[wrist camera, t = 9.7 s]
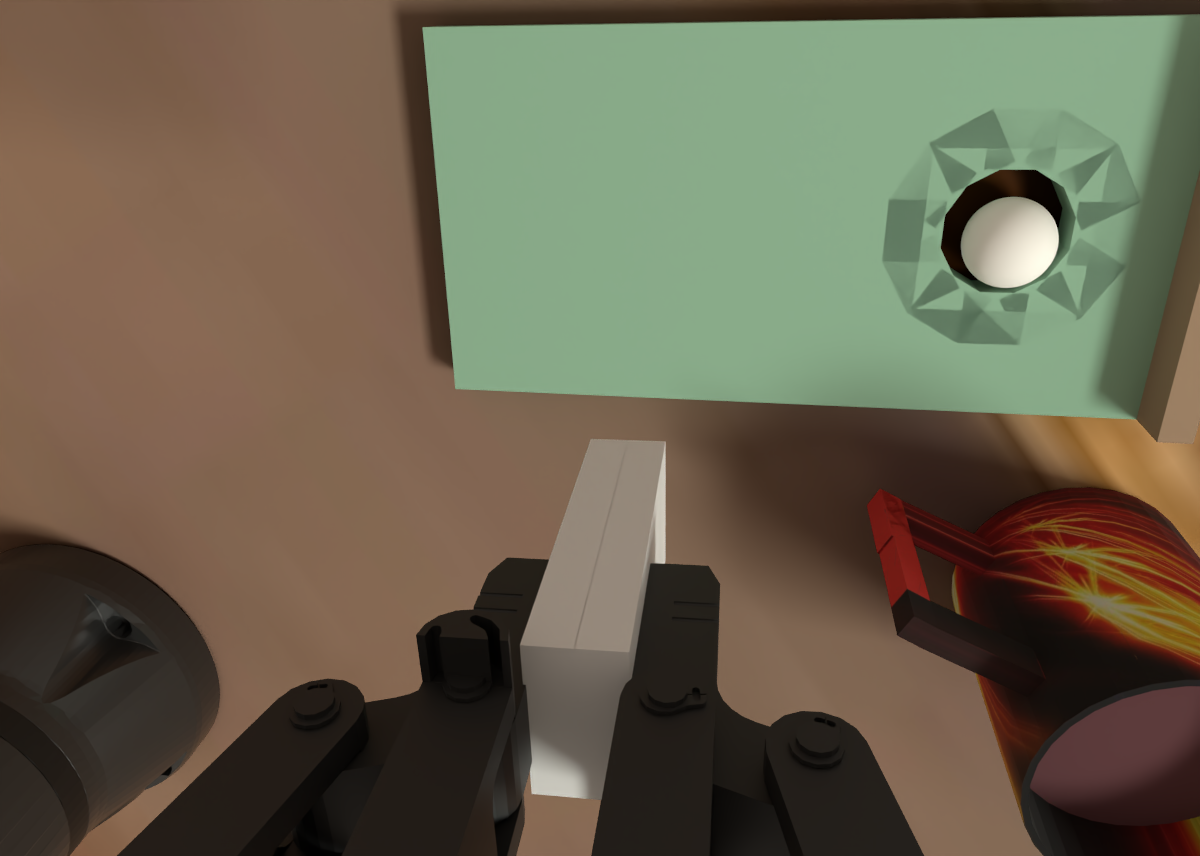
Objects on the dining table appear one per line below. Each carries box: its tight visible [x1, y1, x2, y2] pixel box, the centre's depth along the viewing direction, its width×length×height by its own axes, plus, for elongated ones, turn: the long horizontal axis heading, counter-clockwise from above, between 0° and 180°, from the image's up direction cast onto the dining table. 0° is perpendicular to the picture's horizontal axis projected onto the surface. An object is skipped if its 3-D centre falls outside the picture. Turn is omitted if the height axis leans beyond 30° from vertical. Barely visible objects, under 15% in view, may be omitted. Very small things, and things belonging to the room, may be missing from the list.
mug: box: [867, 487, 1200, 856], centre depth 35 cm, size 10×14×12 cm
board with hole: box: [423, 14, 1200, 444], centre depth 33 cm, size 28×14×4 cm, turn 91°
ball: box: [961, 197, 1059, 288], centre depth 33 cm, size 3×3×3 cm
